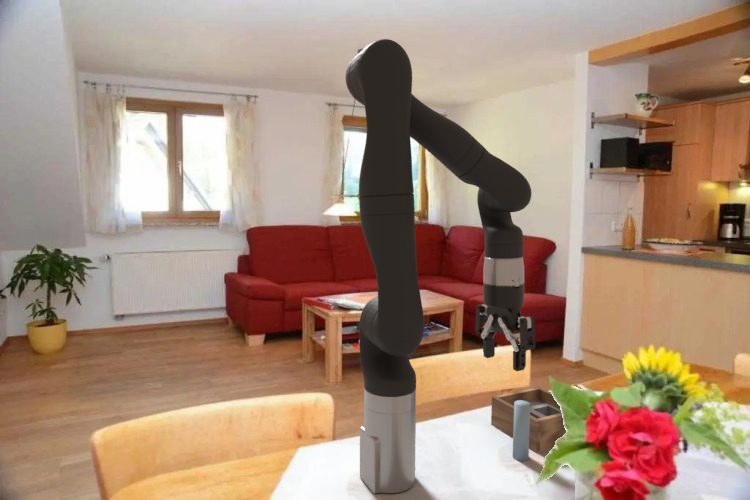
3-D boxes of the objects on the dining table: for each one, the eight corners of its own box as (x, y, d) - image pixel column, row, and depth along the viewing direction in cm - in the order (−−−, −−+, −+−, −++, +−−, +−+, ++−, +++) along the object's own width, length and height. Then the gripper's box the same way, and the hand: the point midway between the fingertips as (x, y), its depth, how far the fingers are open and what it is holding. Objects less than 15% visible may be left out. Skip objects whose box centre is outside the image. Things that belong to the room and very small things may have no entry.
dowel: (519, 462, 97) (521, 407, 95) (509, 455, 99) (511, 401, 98) (531, 458, 98) (533, 404, 97) (521, 452, 101) (522, 399, 99)
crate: (535, 452, 100) (537, 421, 100) (491, 424, 113) (491, 396, 112) (586, 438, 106) (587, 409, 106) (538, 413, 119) (539, 386, 118)
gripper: (464, 277, 99) (465, 356, 101) (514, 288, 87) (513, 378, 88) (494, 273, 103) (494, 350, 104) (546, 283, 90) (545, 371, 92)
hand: (503, 363), depth 96 cm, fingers open, 8 cm apart
